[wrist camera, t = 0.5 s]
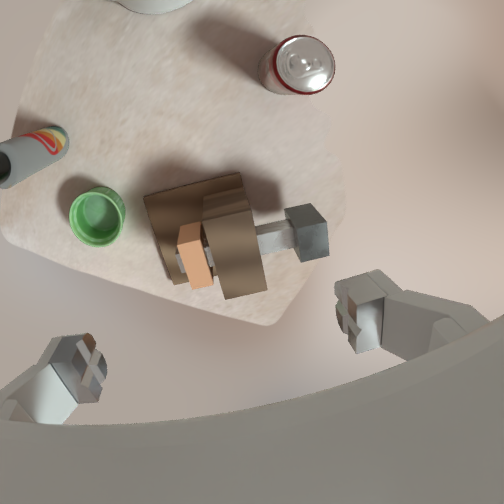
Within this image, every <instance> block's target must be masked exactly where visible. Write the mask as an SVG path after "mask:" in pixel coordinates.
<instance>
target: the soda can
mask: <svg viewBox="0 0 504 504" xmlns="http://www.w3.org/2000/svg"><path fill="white" fill-rule="evenodd" d="M334 74H335V61H334V57H333V55H332V53H331V51H330V50H329V48H328V47H327V46H326V45H325V44H324V43H323V42H321V41H320V40H318V39H317V38H314V37H312V36H307V35H295V36H291V37H289V38H286V39H285V40H283V41H282V42H281V43H279V44H278V45H276V46H275V47H274V48H272V49H271V50H270V51H268V52H267V53H266V54H265V55H264V56H263V57H262V58H261V60H260V62H259V65H258V76H259V79H260V81H261V83H262V84H263V85H264V86H265V88H267V89H268V90H269V91H271V92H273V93H276V94H280V95H312V94H315V93H318V92H321V91H322V90H324V89H325V88H326V87H327V86H328V85H329V84H330V83H331V81H332V79H333V77H334Z"/></svg>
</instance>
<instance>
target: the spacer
mask: <svg viewBox="0 0 504 504" xmlns="http://www.w3.org/2000/svg"><path fill="white" fill-rule="evenodd" d="M202 240H203V228H202V224H201V221H199V222H195V223H191V224H187V225H183V226H180V231H179V236H178V242H177V247H178V250H179V253H180V256H181V259H182V262H183V265H184V268H185V270H186V273H187V276H188V279H189V282H190V285H191V287H192V290H193V289H197V288H202V287H206V286H211V285H213V266H212V267H209V263H208V260H207V257H206V253H205V250H204V247H203V243H202Z"/></svg>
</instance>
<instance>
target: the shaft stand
mask: <svg viewBox="0 0 504 504" xmlns="http://www.w3.org/2000/svg"><path fill="white" fill-rule="evenodd" d="M143 200H144V203H145V206H146V209H147V212H148V215H149V218H150V221H151V224H152V227H153V230H154V233H155V236H156V238H157V241H158V244H159V247H160V249H161V252H162V255H163V258H164V260H165V263H166V266H167V268H168V271H169V274H170V276H171V279H172V281H173V284H174V285H177V284H182V283H186V282H189V279H188V276H187V273H186V272H185V273H181V270H180V267H179V264H178V262H177V259H176V256H175V253H176V247H177V242H178V236H179V231H180V226H183V225H187V224H191V223H195V222H199V221H201V224H202V228H203V238H207V240H208V244H209V247H210V251H211V254H212V257H213V261H214V264H215V266H213V276H217V275H218V278H219V281H220V284H221V288H222V291H223V294H224V298H225V300H226V299H231V298H235V297H240V296H244V295H249V294H253V293H257V292H262V291H266V290H267V285H266V280H265V275H264V270H263V265H262V260H261V255H260V250H259V245H258V240H257V235H256V230H255V226H254V221H253V216H252V211H251V208H250V205H249V202H248V199H247V196H246V194H245V191H244V188H243V184H242V179H241V175H240V172H239V173H234V174H230V175H225V176H221V177H217V178H213V179H208V180H204V181H200V182H196V183H192V184H188V185H184V186H181V187H177V188H173V189H169V190H165V191H162V192H158V193H155V194H151V195H147V196H144V198H143Z"/></svg>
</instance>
